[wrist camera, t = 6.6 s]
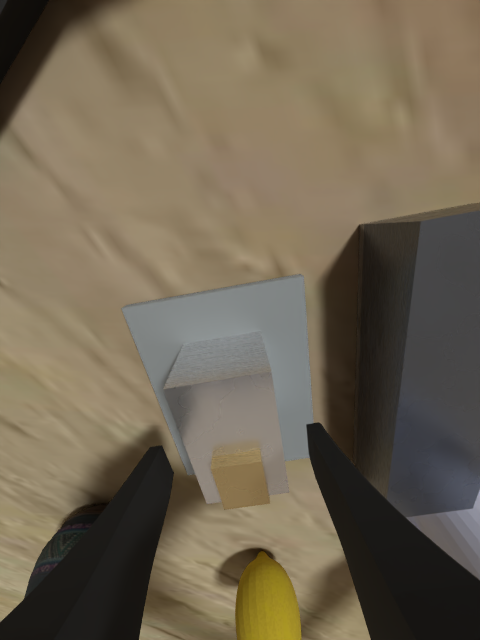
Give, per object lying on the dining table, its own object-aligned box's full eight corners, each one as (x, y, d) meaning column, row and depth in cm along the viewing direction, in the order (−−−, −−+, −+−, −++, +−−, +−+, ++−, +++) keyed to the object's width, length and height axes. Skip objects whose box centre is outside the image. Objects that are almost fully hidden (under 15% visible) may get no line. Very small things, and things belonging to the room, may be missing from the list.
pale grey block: (276, 430, 16) (292, 505, 11) (213, 440, 16) (205, 517, 12) (260, 330, 13) (273, 380, 9) (183, 344, 13) (158, 399, 9)
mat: (312, 449, 17) (315, 456, 17) (189, 467, 18) (187, 475, 17) (300, 273, 12) (303, 276, 12) (126, 305, 13) (121, 308, 12)
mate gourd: (91, 545, 22) (-13, 776, 13) (47, 500, 19) (-128, 754, 10) (160, 532, 21) (104, 763, 12) (125, 484, 18) (17, 736, 9)
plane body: (422, 450, 18) (472, 508, 14) (353, 460, 18) (384, 520, 14) (471, 203, 11) (590, 189, 7) (359, 224, 11) (420, 221, 8)
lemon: (289, 562, 24) (314, 711, 16) (238, 567, 24) (241, 718, 17) (287, 533, 22) (314, 690, 14) (231, 539, 22) (230, 697, 14)
